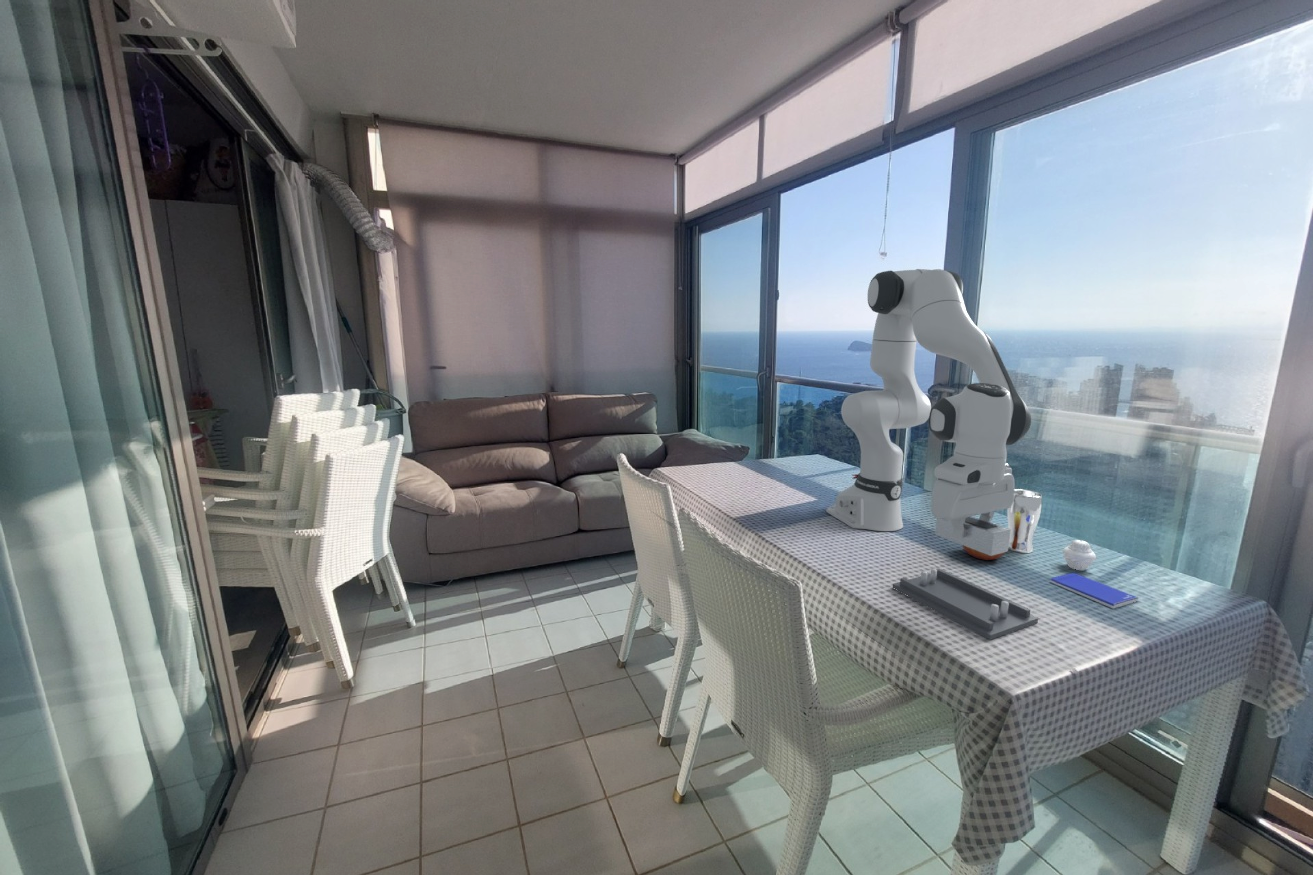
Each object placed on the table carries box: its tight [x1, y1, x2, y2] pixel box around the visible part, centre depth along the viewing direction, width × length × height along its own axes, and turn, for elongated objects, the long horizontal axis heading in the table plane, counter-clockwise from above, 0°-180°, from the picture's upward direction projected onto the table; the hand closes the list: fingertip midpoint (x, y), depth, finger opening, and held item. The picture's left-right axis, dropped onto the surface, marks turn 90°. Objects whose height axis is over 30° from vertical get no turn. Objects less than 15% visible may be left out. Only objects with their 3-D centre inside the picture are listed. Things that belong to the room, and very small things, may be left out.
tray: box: [892, 568, 1039, 641], centre depth 109 cm, size 22×14×4 cm, turn 25°
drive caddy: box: [934, 516, 1011, 556], centre depth 107 cm, size 12×5×5 cm, turn 25°
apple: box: [961, 545, 1004, 561], centre depth 132 cm, size 10×10×8 cm
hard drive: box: [1049, 572, 1139, 609], centre depth 115 cm, size 2×8×12 cm
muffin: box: [1062, 539, 1097, 571], centre depth 126 cm, size 6×6×7 cm
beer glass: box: [1006, 488, 1043, 554], centre depth 136 cm, size 7×7×15 cm
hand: (970, 534), depth 107 cm, fingers closed on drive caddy, 5 cm apart
